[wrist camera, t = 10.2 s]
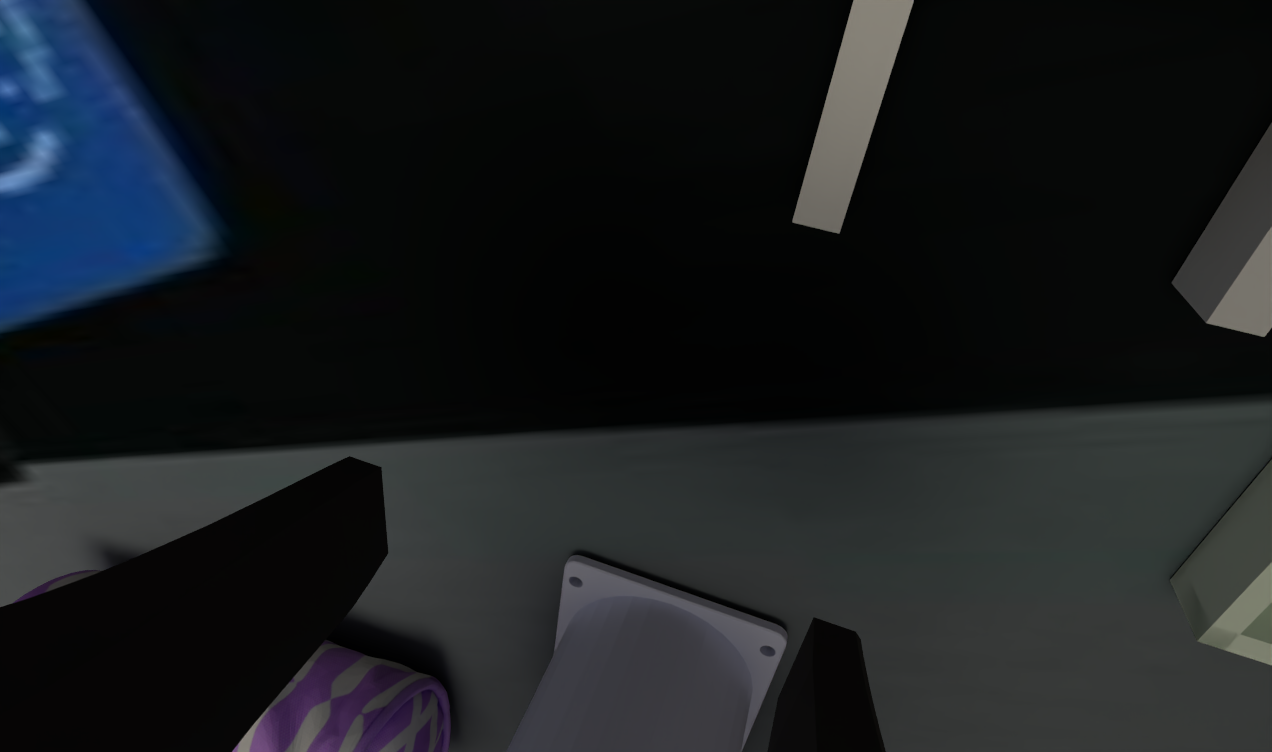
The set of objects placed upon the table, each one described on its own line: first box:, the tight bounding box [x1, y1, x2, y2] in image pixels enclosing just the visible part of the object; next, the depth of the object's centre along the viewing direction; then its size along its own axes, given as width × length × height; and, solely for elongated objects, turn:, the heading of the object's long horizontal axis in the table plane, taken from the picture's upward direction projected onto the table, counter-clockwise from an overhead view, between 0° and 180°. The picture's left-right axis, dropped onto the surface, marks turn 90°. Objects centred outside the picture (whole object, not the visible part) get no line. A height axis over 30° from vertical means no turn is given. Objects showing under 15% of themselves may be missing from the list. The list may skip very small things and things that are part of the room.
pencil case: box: [14, 570, 451, 752], centre depth 31 cm, size 22×9×10 cm, turn 93°
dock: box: [792, 0, 1272, 337], centre depth 11 cm, size 9×12×6 cm
